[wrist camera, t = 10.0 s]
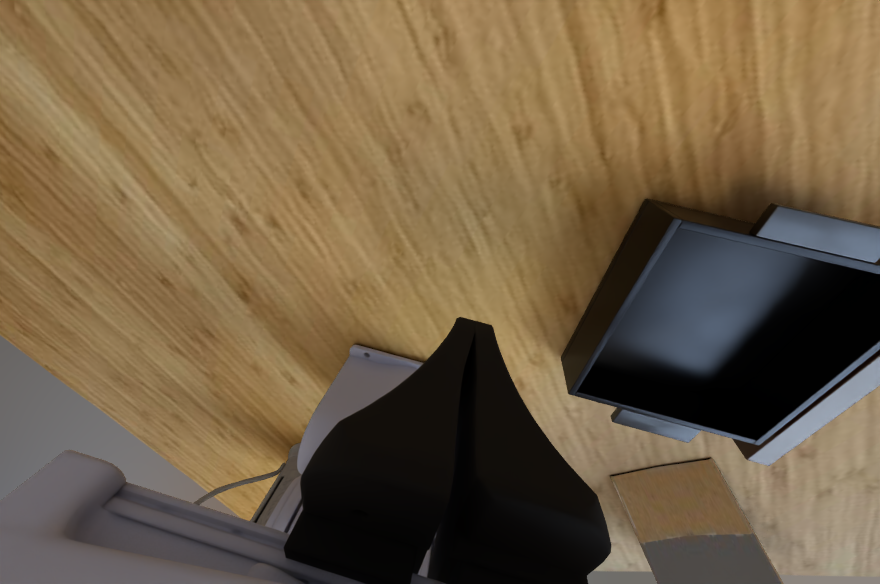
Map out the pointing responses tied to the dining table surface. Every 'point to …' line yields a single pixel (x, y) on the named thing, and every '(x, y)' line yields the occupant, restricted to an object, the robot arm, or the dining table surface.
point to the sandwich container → (693, 526)
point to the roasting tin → (727, 320)
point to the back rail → (816, 413)
